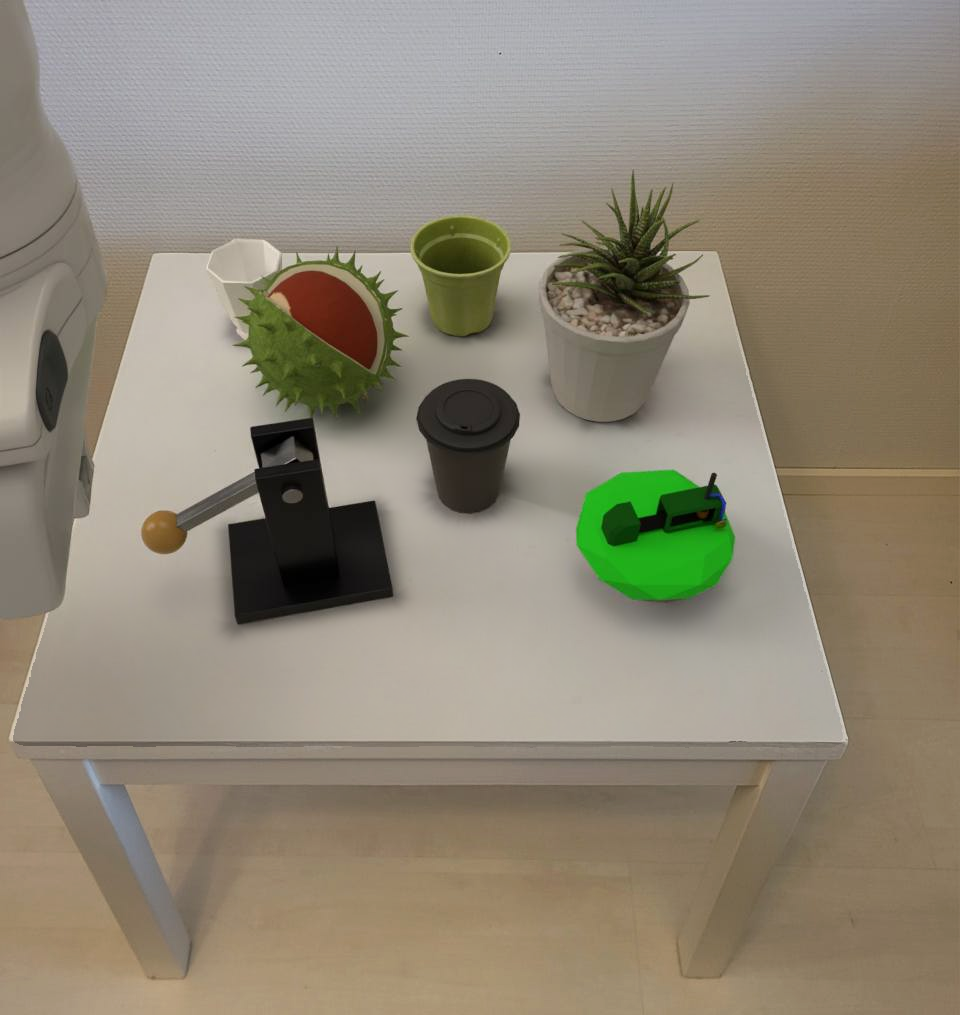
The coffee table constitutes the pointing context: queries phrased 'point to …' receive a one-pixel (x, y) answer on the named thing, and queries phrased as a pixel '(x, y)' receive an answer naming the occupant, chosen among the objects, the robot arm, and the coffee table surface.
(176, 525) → the tap lever
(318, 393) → the chestnut
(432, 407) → the coffee cup
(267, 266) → the cup
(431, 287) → the plant pot
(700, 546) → the green rounded piece
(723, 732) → the coffee table surface
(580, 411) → the potted plant
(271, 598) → the black lever stand
